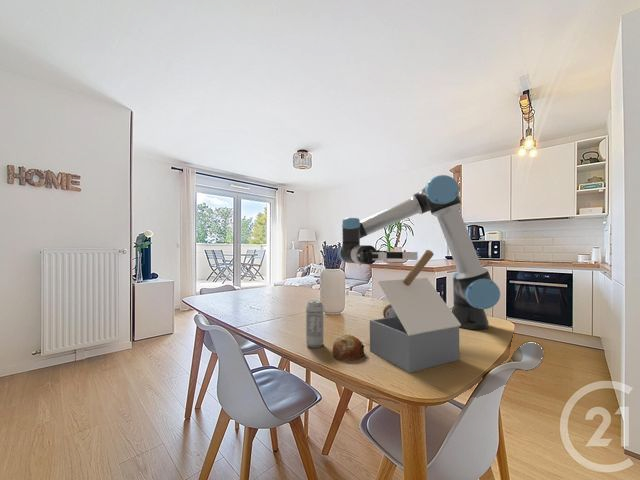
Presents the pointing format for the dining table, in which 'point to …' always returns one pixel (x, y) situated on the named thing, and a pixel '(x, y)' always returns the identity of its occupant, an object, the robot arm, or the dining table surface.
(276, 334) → the dining table surface
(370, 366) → the dining table surface
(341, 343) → the bread roll
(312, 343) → the energy drink can
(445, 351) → the carton
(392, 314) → the tin
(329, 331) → the dining table surface
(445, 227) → the robot arm
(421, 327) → the flap
